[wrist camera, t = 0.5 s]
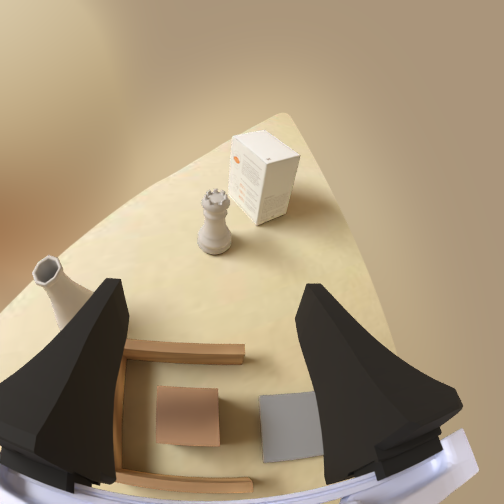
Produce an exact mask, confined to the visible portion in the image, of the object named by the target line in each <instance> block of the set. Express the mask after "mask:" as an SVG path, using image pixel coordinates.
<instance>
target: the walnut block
mask: <svg viewBox="0 0 504 504" xmlns="http://www.w3.org/2000/svg"><path fill="white" fill-rule="evenodd" d="M156 443H163V444H174V445H189V446H220V436H219V408H218V388H186V387H170V386H157V409H156Z"/></svg>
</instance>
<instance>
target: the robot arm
mask: <svg viewBox="0 0 504 504" xmlns="http://www.w3.org/2000/svg"><path fill="white" fill-rule="evenodd" d="M295 322H296V328H297V333H298V339H299V343H300V346H301V349H302V352H303V355H304V359H305V362H306V365H307V368H308V371H309V374H310V378H311V381H312V384H313V387H314V391H315V395H316V401H317V406H318V412H319V418H320V425H321V432H322V442H323V453H324V477H325V481H326V484H327V485H329V484H332V483H336V482H340V481H343V480H347V479H350V478H353V477H355V478H353V479H350V480H347V481H343V482H340V483H336V484H333V485H329V486H325V487H321V488H316V489H312V490H307V491H303V492H297V493H292V494H286V495H280V496H273V497H265V498H256V499H246V500H231V501H180V500H165V499H155V498H146V497H139V496H132V495H126V494H120V493H115V492H110V491H105V490H101V489H96V488H92V484H95V485H99V486H100V483H105V484H112V483H114V482H115V481H116V480H117V478H116V471H115V461H114V445H113V413H114V397H115V389H116V383H117V378H118V374H119V369H120V364H121V360H122V356H123V351H124V347H125V343H126V338H127V331H128V323H129V312H128V308H127V304H126V300H125V296H124V291H123V287H122V282H121V279H113V278H106V279H105V280H104V281H103V283H102V284H101V285H100V286H99V287H98V288H97V290H96V291H95V292H94V293H93V294H92V296H91V297H90V298H89V299H88V300H87V302H86V303H85V304H84V305H83V306H82V307H81V309H80V310H79V311H78V312H77V313H76V315H75V316H74V317H73V318H72V319H71V320H70V321H69V323H68V324H67V325H66V326H65V327H64V328H63V329H62V330H61V331H60V333H59V334H58V335H57V336H56V337H55V338H54V339H53V340H52V341H51V342H50V343H49V344H48V345H47V346H46V347H45V348H44V349H43V350H42V351H40V352H39V353H38V354H37V355H36V356H35V357H34V358H32V359H31V360H30V361H29V362H28V363H26V364H25V365H24V366H23V367H22V368H20V369H19V370H18V371H16V372H15V373H14V374H13V375H11V376H10V377H8V378H7V379H5V380H4V381H3V382H1V383H0V446H2V449H1V452H0V504H320V503H324V502H328V501H332V500H335V499H339V498H342V497H343V498H342V499H341V500H340V503H339V504H439V503H440V502H442V501H443V500H444V499H445V498H446V497H448V496H449V495H450V494H451V493H453V492H454V491H455V490H456V489H457V488H459V487H460V486H461V485H462V484H464V483H465V482H466V481H467V480H469V479H470V478H471V477H472V476H474V475H475V474H476V473H477V472H478V471H479V469H478V466H477V463H476V460H475V458H474V455H473V452H472V450H471V447H470V444H469V442H468V440H467V437H466V435H465V432H464V430H463V428H461V429H459V430H457V431H456V432H454V433H452V434H450V435H449V436H447V437H445V438H443V439H442V440H439V437H438V435H440V434H441V429H440V426H441V425H442V424H444V423H445V422H447V421H448V420H449V419H451V418H452V417H453V416H455V415H456V414H457V413H458V412H459V411H460V410H461V409H462V407H463V404H462V402H461V400H460V398H459V396H458V394H457V392H456V390H455V389H454V388H452V387H450V386H448V385H446V384H443V383H441V382H439V381H437V380H435V379H433V378H431V377H429V376H427V375H425V374H424V373H422V372H420V371H419V370H417V369H415V368H414V367H412V366H410V365H409V364H408V363H406V362H405V361H403V360H402V359H400V358H399V357H397V356H396V355H395V354H393V353H392V352H391V351H390V350H388V349H387V348H386V347H385V346H383V345H382V344H381V343H380V342H378V341H377V340H376V339H375V338H374V337H373V336H372V335H371V334H370V333H368V332H367V331H366V330H365V329H364V328H363V327H362V326H361V325H360V324H359V323H358V322H357V321H356V320H355V319H354V318H353V317H352V316H351V315H350V314H349V313H348V312H347V311H346V310H345V309H344V308H343V307H342V305H341V304H340V303H339V302H338V301H337V300H336V299H335V298H334V297H333V296H332V295H331V294H330V293H329V292H328V291H327V290H326V288H325V287H324V286H323V285H322V284H306V287H305V290H304V293H303V296H302V299H301V302H300V305H299V308H298V311H297V314H296V317H295Z"/></svg>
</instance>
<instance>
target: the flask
mask: <svg viewBox="0 0 504 504" xmlns="http://www.w3.org/2000/svg"><path fill="white" fill-rule="evenodd" d="M32 274H33V277H34V280H35V283H36V284H37V285H39V286H41V287H43V288H44V290H45V291H46V292H47V294H48V296H49V298H50V300H51V304H52V307H53V311H54V315H55V318H56V322H57V324H58V326H59V329H60V331H61V330H62V329H63V328H64V327H65V326H66V325H67V324H68V323H69V321H70V320H71V319H72V318H73V317H74V316H75V315H76V313H77V312H78V311H79V310H80V309H81V307H82V306H83V305H84V304H85V303H86V302H87V300H88V299H89V298H90V297H91V296H92V294H93V293H94V292H92V291H90V290H88V289H86V288H84V287H82V286H81V285H79V284H77V283H75V282H74V281H72V280H71V279H70V278H69V277H68V276H67V275H66V274H65V273H64V272H63V268H62V265H61V263H60V261H59V259H58V258H57V257H53V256H49V255H48V256H47V257H45V258H44V259H42V260H41V261H39V262H38V263H37V265H36V267H35V269H34V271H33V272H32Z"/></svg>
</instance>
